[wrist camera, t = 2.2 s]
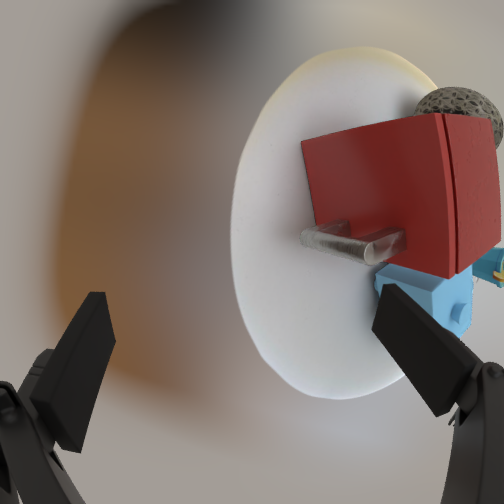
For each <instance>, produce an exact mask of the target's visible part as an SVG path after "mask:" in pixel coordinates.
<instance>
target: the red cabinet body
mask: <svg viewBox="0 0 504 504" xmlns="http://www.w3.org/2000/svg"><path fill="white" fill-rule="evenodd" d="M441 116H442V120H443V125H444V131H445V136H446V142H447V148H448V155H449V162H450V170H451V178H452V188H453V200H454V215H455V274H460V273H461V272H462V271H464V270H465V269H466V268H468V267H469V266H470V265H471V264H473V263H474V262H475V261H477V260H478V259H479V258H480V257H482V256H483V255H484V254H485V253H487V252H488V251H489V250H490V249H492V248H493V247H494V246H495V245H496V244H498V243H499V242H500V241H501V204H500V187H499V173H498V165H497V156H496V147H495V141H494V134H493V128H492V123H491V119H487V118H480V117H473V116H465V115H457V114H447V113H442V114H441Z"/></svg>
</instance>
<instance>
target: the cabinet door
mask: <svg viewBox="0 0 504 504" xmlns="http://www.w3.org/2000/svg"><path fill="white" fill-rule="evenodd" d="M301 145H302V150H303V155H304V160H305V165H306V170H307V175H308V180H309V186H310V191H311V197H312V202H313V208H314V214H315V220H316V226H314V227H311V228H308V229H305V230H303V231H302V233H301V235H300V242H301V244H302V245H303V246H304V247H308V248H311V249H315V250H318V251H322V252H325V253H329V254H332V255H335V256H339V257H342V258H346V259H349V260H352V261H356V262H359V263H363V264H366V265H369V266H372V265H375V264H377V263H379V262H382V261H384V262H388V263H391V264H395V265H399V266H402V267H406V268H409V269H413V270H417V271H420V272H424V273H427V274H431V275H434V276H438V277H441V278H445V279H448V280H449V279H451V278H452V277H453V276H455V215H454V200H453V188H452V178H451V170H450V162H449V155H448V148H447V142H446V136H445V131H444V125H443V120H442V116H441V113H429V114H423V115H417V116H411V117H406V118H400V119H395V120H390V121H385V122H380V123H375V124H371V125H366V126H361V127H357V128H353V129H348V130H344V131H340V132H336V133H332V134H328V135H324V136H320V137H316V138H312V139H308V140H305V141H301Z"/></svg>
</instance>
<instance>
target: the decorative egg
mask: <svg viewBox="0 0 504 504" xmlns="http://www.w3.org/2000/svg"><path fill="white" fill-rule="evenodd" d="M429 113H441V114H442V113H447V114H457V115H465V116H473V117H480V118H487V119H491V123H492V128H493V134H494V141H495V147H496V149H497V147H498V146H499V144H500V142H501V140H502V137H503V121H502V118H501V115H500V113H499V111H498V110H497V108H496V107H495V106H494V104H493V103H492V102H491V101H490V100H489V99H487V98H486V97H485V96H483V95H481V94H479V93H478V92H476V91H473V90H470V89H467V88H460V87H445V88H440V89H437V90H434V91H432V92H431V93H429V94H428V95H426V96H425V97H424V98H423V99H422V100H421V101H420V102H419V104H418V106H417V108H416V110H415V114H414V116H417V115H423V114H429Z"/></svg>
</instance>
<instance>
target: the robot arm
mask: <svg viewBox="0 0 504 504" xmlns="http://www.w3.org/2000/svg"><path fill="white" fill-rule="evenodd" d="M372 331H373V332H374V334H375V335H376V336H377V338H378V339H379V340H380V342H381V343H382V344H383V345H384V347H385V348H386V349H387V351H388V352H389V353H390V355H391V356H392V357H393V359H394V360H395V361H396V363H397V364H398V365H399V367H400V368H401V369H402V371H403V372H404V373H405V375H406V376H407V377H408V379H409V380H410V382H411V383H412V384H413V386H414V387H415V389H416V390H417V391H418V393H419V394H420V395H421V397H422V398H423V400H424V401H425V402H426V404H427V405H428V407H429V408H430V409H431V411H432V412H433V414H434V415H435V416H436V417H439V416H441V415H443V414H446V413H448V412H449V411H450V409H451V408H452V407H453V405H454V403H455V402H456V403H457V404H458V406H459V407H458V409H457V410H456V412H455V414H454V415H453V417H452V418H451V419H450V421H449V423H448V425H451V423H452V422H453V421H454V420H455V424H454V425H453V426H454V434H453V442H452V449H451V456H450V461H449V467H448V472H447V477H446V482H445V487H444V491H443V496H442V500H441V504H504V369H503V367H502V366H500V365H499V364H497V363H494V362H487V363H483V362H482V361H481V360H480V359H479V358H478V357H477V356H476V355H475V354H474V353H473V352H472V351H471V350H470V349H469V348H468V347H467V346H465V344H464V343H463V342H462V341H460V339H459V338H458V337H457V336H456V335H455V334H454V333H453V332H451V331H449V330H448V329H446V328H443V327H442V326H441V325H440V324H439V323H438V322H437V321H436V320H435V319H434V318H433V317H432V316H431V315H430V314H428V313H427V312H426V311H425V310H424V309H423V308H422V307H421V306H420V305H419V304H418V303H417V302H416V301H414V300H413V299H412V298H411V297H410V296H409V295H408V294H407V293H406V292H404V291H403V290H402V289H401V288H400V287H399V286H398V285H397V284H396V283H391V284H383V286H382V291H381V295H380V299H379V303H378V307H377V311H376V315H375V319H374V322H373V326H372ZM115 342H116V340H115V337H114V332H113V328H112V323H111V319H110V314H109V310H108V305H107V300H106V295H105V292H90V293H89V294H88V296H87V297H86V299H85V300H84V302H83V303H82V305H81V307H80V308H79V309H78V311H77V313H76V314H75V316H74V318H73V319H72V321H71V322H70V324H69V326H68V327H67V329H66V331H65V332H64V334H63V336H62V338H61V339H60V341H59V342H58V344H57V346H56V348H55V349H46V350H44V351H43V352H42V353H41V354H40V355H39V356H38V357H37V358H36V360H35V362H34V363H33V367H31V369H30V370H29V372H28V374H27V376H26V377H25V379H24V381H23V383H22V385H21V387H20V388H19V390H18V392H17V393H16V391H15V389H14V387H13V386H12V384H10V383H8V382H5V381H0V504H19V499H18V494H17V491H18V493H19V495H20V498H21V500H22V502H23V504H86V503H85V502H84V500H83V499H82V497H81V496H80V494H79V492H78V491H77V489H76V487H75V486H74V484H73V483H72V481H71V479H70V477H69V476H68V474H67V472H66V470H65V469H64V467H63V465H62V463H61V461H60V459H59V457H58V455H57V454H56V452H55V451H54V449H53V447H54V444H55V441H56V442H57V443H58V444H59V446H60V447H61V449H63V450H67V451H71V452H76V453H81V450H82V447H83V443H84V439H85V435H86V432H87V428H88V425H89V421H90V418H91V414H92V411H93V408H94V404H95V401H96V398H97V395H98V392H99V389H100V385H101V383H102V379H103V377H104V374H105V371H106V368H107V365H108V362H109V359H110V356H111V353H112V351H113V348H114V345H115Z"/></svg>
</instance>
